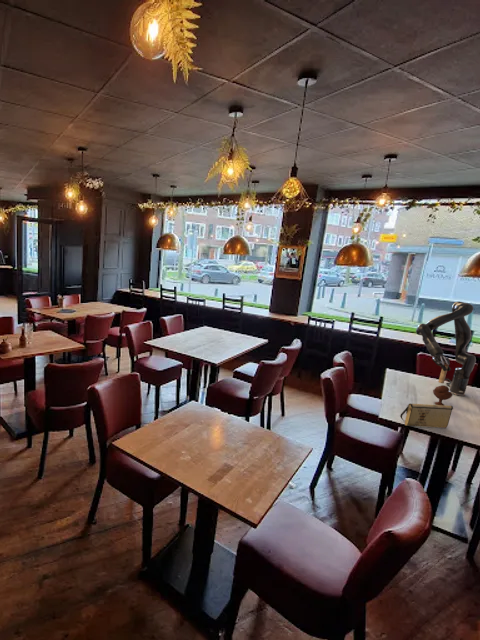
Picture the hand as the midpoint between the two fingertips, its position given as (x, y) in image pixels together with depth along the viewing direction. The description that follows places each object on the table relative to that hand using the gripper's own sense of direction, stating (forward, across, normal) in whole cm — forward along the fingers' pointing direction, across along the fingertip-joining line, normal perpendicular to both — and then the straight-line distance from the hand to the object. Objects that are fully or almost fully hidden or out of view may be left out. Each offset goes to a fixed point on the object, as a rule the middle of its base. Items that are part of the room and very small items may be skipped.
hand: (447, 370), depth 241 cm
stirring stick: (+6, 0, +8) cm, 10 cm away
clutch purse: (+35, -45, +3) cm, 57 cm away
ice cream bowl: (+19, +1, +18) cm, 26 cm away
